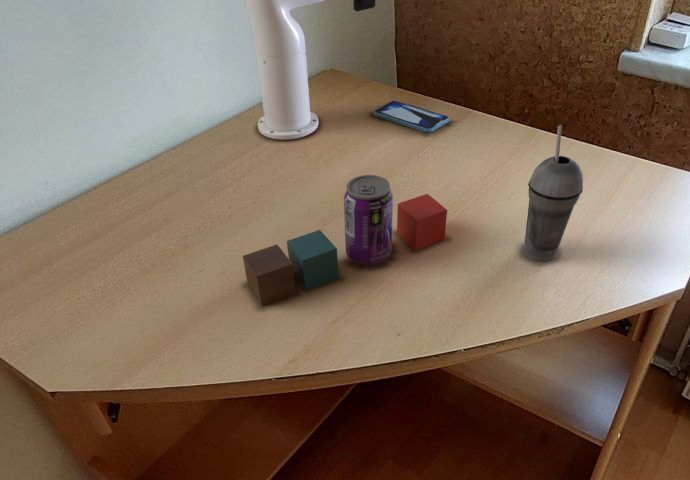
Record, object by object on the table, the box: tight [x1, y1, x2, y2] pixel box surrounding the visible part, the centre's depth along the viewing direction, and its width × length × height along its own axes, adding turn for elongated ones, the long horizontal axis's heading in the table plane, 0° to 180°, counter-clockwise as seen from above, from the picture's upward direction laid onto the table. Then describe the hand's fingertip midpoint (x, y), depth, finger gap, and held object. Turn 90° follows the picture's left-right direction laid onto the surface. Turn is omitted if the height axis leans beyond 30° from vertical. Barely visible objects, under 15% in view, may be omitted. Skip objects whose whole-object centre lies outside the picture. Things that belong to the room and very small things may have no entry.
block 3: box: [396, 193, 448, 251], centre depth 97 cm, size 6×6×6 cm
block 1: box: [242, 244, 297, 307], centre depth 90 cm, size 6×6×6 cm
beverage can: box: [343, 174, 394, 265], centre depth 92 cm, size 7×7×12 cm
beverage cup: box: [523, 124, 584, 263], centre depth 87 cm, size 7×7×20 cm
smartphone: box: [373, 100, 450, 133], centre depth 127 cm, size 7×1×15 cm
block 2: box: [286, 229, 339, 291], centre depth 92 cm, size 6×6×6 cm
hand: (347, 0), depth 89 cm, fingers open, 9 cm apart
